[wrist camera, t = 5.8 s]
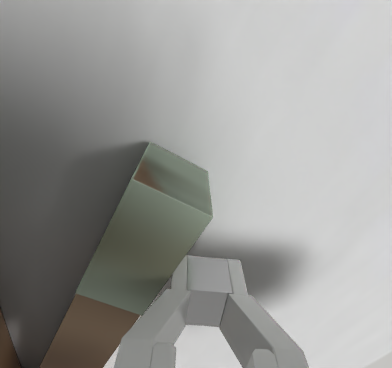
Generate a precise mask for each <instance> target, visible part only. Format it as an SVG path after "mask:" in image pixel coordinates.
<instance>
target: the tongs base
mask: <svg viewBox="0 0 392 368" xmlns="http://www.w3.org/2000/svg"><path fill="white" fill-rule="evenodd" d="M0 368H21V367H20V364H19V361H18V358H17V355H16V352H15V349H14V347H13V344H12V341H11V338H10V335H9V332H8V329H7V327H6V324H5V321H4V318H3V315H2V312H1V309H0Z"/></svg>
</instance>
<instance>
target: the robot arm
mask: <svg viewBox="0 0 392 368" xmlns="http://www.w3.org/2000/svg"><path fill="white" fill-rule="evenodd" d="M185 325H204V326H214V327H220V330H221V332H222V334H223V335H224V337H225V339H226V340H227V342H228V344H229V345H230V347H231V349H232V350H233V352H234V354H235V355H236V357H237V359H238V360H239V362H240V364H241V365H242V367H243V368H309V366H308V363H307V361H306V358H305V355H304V352H303V350H302V349H301V348H300V347H299V346H298V345H297V344H296V343H295V342H294V341H293V340H292V339H291V337H290V336H289V335H288V334H287V333H286V332H285V331H284V330H283V329H282V328H281V327H280V325H279V324H278V323H277V322H276V321H275V320H274V319H273V318H272V317H271V316H270V315H269V313H268V312H267V311H266V310H265V309H264V308H263V307H262V306H261V305H260V304H259V303H258V302H257V300H256V299H255V298H254V297H253V296H251V295H248V292H247V288H246V283H245V279H244V274H243V270H242V265H241V261H240V260H237V259H223V258H210V257H200V256H191V255H188V256H187V255H186V256H185V257H184V258H183V260H182V261H181V263H180V264H179V265H178V267H177V268H176V269H175V271H174V272H173V274H172V280H171V289H166V290H165V291H164V292H163V293H162V294H161V296H160V297H159V298H158V299H157V300H156V301H155V302H154V303H153V304H152V305H151V307H150V308H149V309H148V310H147V311H146V312H145V313H144V314H143V315H142V316H141V318H140V319H139V320H138V321H137V322H136V323H135V324H134V325H133V326H132V327H131V329H130V330H129V331H128V332H127V333H126V334H125V335H124V336H123V337H122V339H121V343H120V346H119V350H118V354H117V358H116V362H115V365H114V368H175V360H176V347H175V346H174V343H175V342H176V340H177V339H178V337H179V335H180V334H181V332H182V331H183V329H184V327H185Z"/></svg>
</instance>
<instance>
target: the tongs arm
mask: <svg viewBox="0 0 392 368" xmlns="http://www.w3.org/2000/svg"><path fill="white" fill-rule="evenodd" d="M212 218H213V213H212V204H211V195H210V186H209V177H208V171H206V170H204V169H202V168H200V167H198V166H196V165H194V164H192V163H190V162H189V161H187V160H185V159H183V158H181V157H179V156H177V155H175V154H173V153H171V152H169V151H167V150H165V149H163V148H161V147H159V146H157V145H156V144H154V143H152V142H150V143H149V145H148V146H147V148H146V150H145V152H144V154H143V156H142V158H141V160H140V162H139V164H138V166H137V168H136V170H135V172H134V174H133V176H132V178H131V180H130V182H129V184H128V186H127V188H126V190H125V192H124V194H123V196H122V198H121V200H120V202H119V205H118V207H117V209H116V211H115V213H114V215H113V217H112V219H111V221H110V223H109V225H108V227H107V229H106V231H105V233H104V235H103V237H102V239H101V241H100V243H99V245H98V247H97V249H96V251H95V253H94V255H93V257H92V259H91V261H90V263H89V265H88V267H87V269H86V271H85V273H84V275H83V277H82V280H81V282H80V284H79V286H78V288H77V290H76V292H75V293H76V295H75V297H74V299H73V301H72V303H71V305H70V307H69V309H68V311H67V313H66V315H65V317H64V319H63V321H62V323H61V325H60V327H59V329H58V331H57V333H56V335H55V337H54V339H53V341H52V343H51V345H50V347H49V349H48V351H47V353H46V355H45V357H44V359H43V361H42V363H41V365H40V367H39V368H103V367H104V365H105V364H106V362H107V361H108V360H109V358H110V357H111V355H112V354H113V353H114V351H115V350H116V348H117V347H118V346H119V344H120V343H121V339H122V337H123V336H124V335H125V334H126V333H127V332H128V331H129V330H130V329H131V327H132V326H133V325H134V323H135V322H136V320H137V319H138V318H139V316H140V315H143V314H144V312H145V311H146V310H147V308H148V307H149V306H150V304H151V303H152V301H153V300H154V299H155V297H156V296H157V294H158V293H159V292H160V290H161V289H162V287H163V286H164V285H165V283H166V282H167V281H168V279H169V278H170V276H171V275H172V274H173V272H174V271H175V269H176V268H177V267H178V265H179V264H180V263H181V261H182V260H183V258H184V257H185V256H186V254H187V253H188V251H189V250H190V249H191V247H192V246H193V245H194V243H195V242H196V240H197V239H198V238H199V236H200V235H201V233H202V232H203V231H204V229H205V228H206V226H207V225H208V224H209V222H210V221H211V220H212Z"/></svg>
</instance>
